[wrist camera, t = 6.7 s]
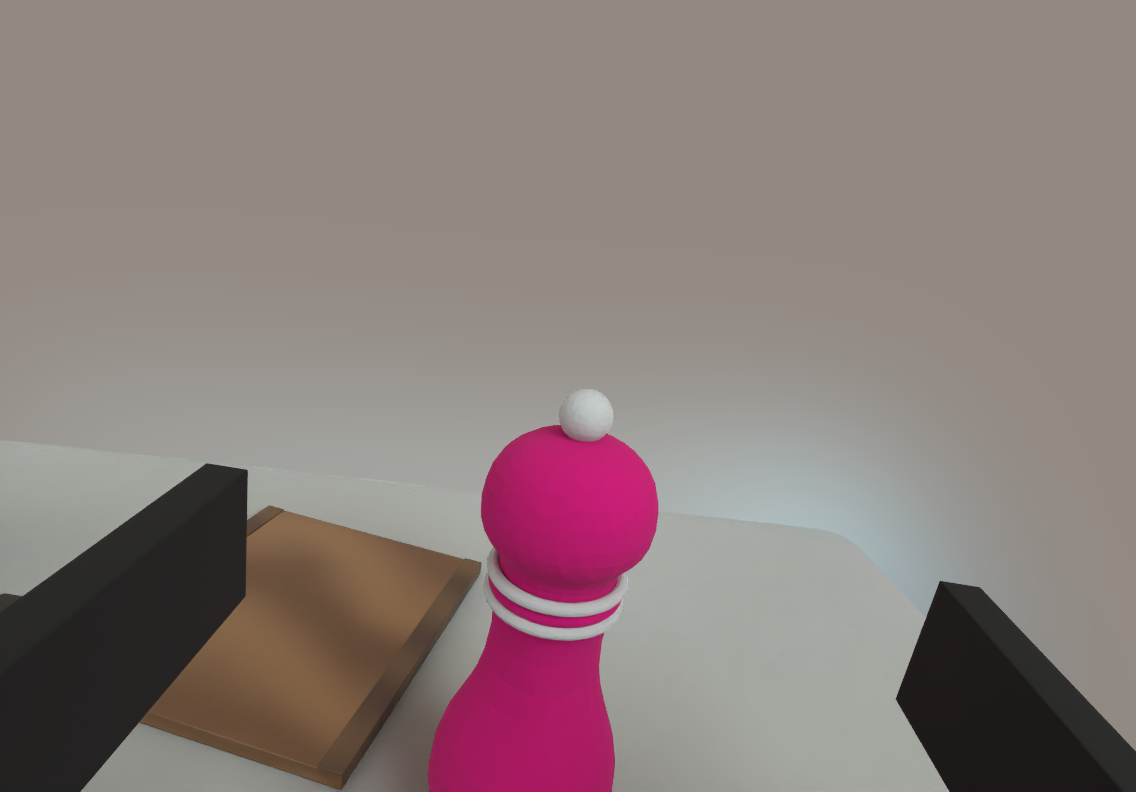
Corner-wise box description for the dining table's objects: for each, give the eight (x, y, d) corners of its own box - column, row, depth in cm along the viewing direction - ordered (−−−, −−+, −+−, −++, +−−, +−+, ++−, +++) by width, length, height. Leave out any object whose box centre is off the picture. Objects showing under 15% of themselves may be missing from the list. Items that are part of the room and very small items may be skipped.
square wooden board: (341, 790, 29) (342, 774, 29) (27, 685, 32) (25, 669, 31) (480, 573, 46) (481, 562, 46) (268, 516, 48) (269, 505, 48)
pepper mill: (500, 987, 23) (605, 453, 17) (381, 835, 28) (431, 367, 21) (628, 855, 28) (743, 412, 22) (511, 746, 33) (581, 350, 27)
